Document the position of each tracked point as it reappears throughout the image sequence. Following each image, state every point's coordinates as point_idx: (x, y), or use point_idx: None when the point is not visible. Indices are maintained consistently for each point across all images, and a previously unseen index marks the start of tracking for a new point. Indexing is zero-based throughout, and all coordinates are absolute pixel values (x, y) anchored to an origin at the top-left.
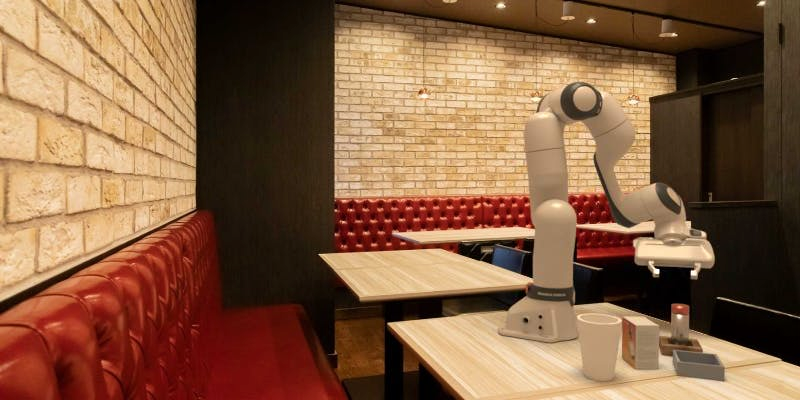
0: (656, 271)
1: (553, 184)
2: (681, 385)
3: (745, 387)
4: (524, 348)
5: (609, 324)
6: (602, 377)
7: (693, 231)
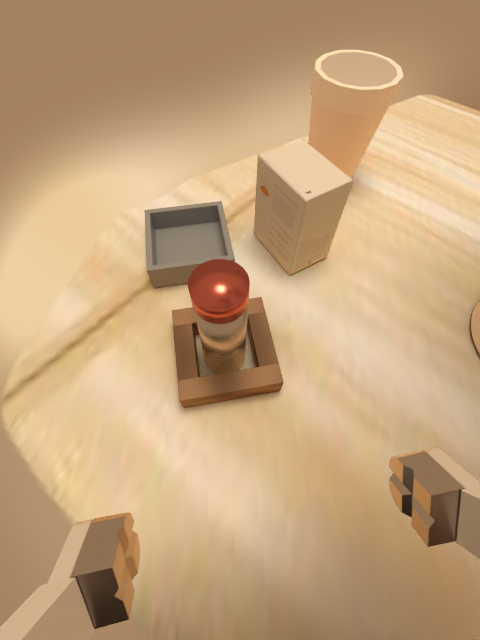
0: (429, 465)
1: None
2: (214, 191)
3: (123, 220)
4: None
5: (326, 54)
6: None
7: None
